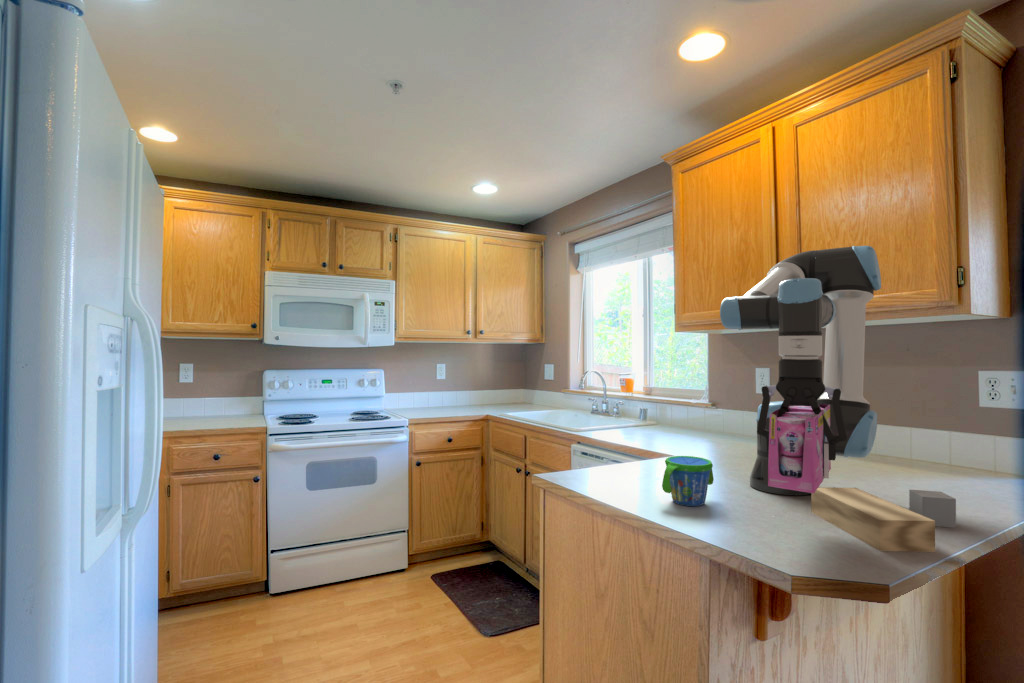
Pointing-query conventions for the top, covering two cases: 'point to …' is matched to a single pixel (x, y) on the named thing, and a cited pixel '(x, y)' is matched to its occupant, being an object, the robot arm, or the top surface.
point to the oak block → (874, 520)
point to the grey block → (934, 506)
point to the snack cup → (687, 479)
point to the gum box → (797, 448)
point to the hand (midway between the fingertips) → (800, 473)
